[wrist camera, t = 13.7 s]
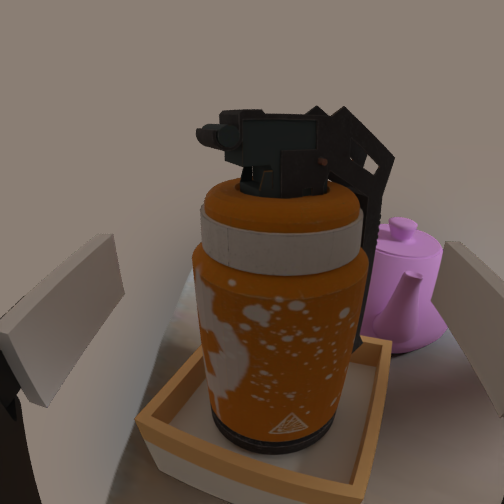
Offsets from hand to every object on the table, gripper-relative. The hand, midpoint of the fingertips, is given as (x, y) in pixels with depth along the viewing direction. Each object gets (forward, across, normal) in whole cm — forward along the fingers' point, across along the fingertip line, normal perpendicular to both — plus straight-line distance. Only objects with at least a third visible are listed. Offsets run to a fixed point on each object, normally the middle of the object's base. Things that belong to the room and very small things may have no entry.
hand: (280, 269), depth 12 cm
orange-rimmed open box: (+5, +1, -19) cm, 20 cm away
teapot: (+20, +14, -19) cm, 31 cm away
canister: (+5, +1, -14) cm, 15 cm away
